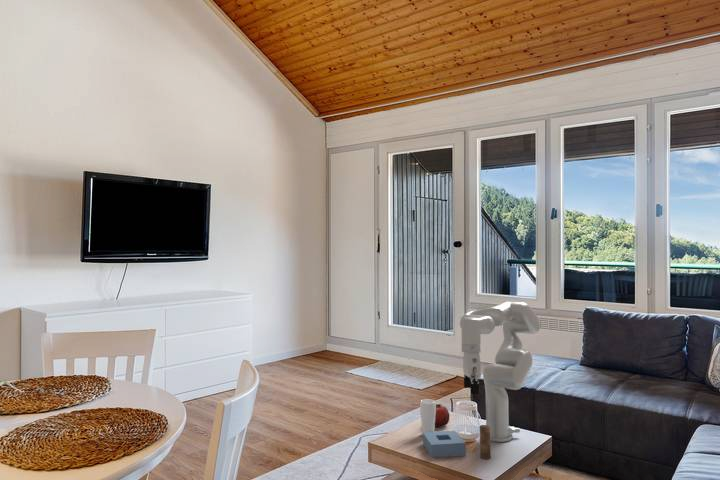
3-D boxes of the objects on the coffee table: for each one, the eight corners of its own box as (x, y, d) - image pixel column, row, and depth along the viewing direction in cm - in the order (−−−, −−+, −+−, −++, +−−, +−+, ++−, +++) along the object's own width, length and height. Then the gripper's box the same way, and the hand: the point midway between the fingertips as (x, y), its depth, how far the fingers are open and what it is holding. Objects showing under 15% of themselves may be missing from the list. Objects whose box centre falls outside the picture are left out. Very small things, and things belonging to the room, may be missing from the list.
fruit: (439, 431, 236) (439, 409, 236) (423, 425, 244) (423, 404, 244) (455, 426, 243) (454, 404, 243) (438, 420, 251) (438, 399, 251)
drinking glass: (432, 431, 236) (431, 398, 236) (438, 436, 229) (438, 402, 229) (418, 433, 234) (417, 399, 234) (424, 438, 227) (424, 404, 227)
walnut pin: (488, 454, 209) (487, 424, 209) (492, 458, 205) (491, 428, 205) (478, 455, 208) (478, 425, 209) (482, 459, 204) (481, 428, 205)
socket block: (455, 442, 223) (454, 430, 223) (465, 455, 209) (465, 442, 209) (422, 444, 221) (422, 432, 221) (431, 457, 207) (431, 444, 207)
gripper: (486, 352, 204) (486, 396, 203) (474, 344, 221) (474, 385, 221) (467, 352, 203) (467, 396, 203) (456, 344, 221) (456, 385, 220)
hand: (471, 390), depth 212 cm, fingers open, 9 cm apart
